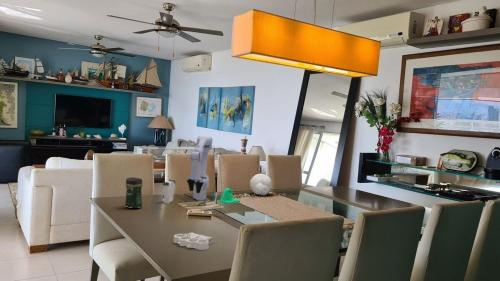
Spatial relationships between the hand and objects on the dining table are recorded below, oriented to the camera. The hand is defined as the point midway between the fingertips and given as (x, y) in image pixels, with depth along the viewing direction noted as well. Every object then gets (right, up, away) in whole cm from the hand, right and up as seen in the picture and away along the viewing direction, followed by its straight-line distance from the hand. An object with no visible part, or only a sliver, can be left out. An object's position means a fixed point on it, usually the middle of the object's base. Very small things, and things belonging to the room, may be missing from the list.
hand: (194, 191), depth 243 cm
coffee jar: (-36, -9, -9) cm, 38 cm away
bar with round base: (+1, -8, -3) cm, 9 cm away
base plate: (+4, -10, -1) cm, 10 cm away
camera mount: (+22, -10, +13) cm, 27 cm away
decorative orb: (+43, -9, +49) cm, 66 cm away
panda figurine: (-18, -9, +5) cm, 20 cm away
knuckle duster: (+9, -15, -70) cm, 72 cm away
